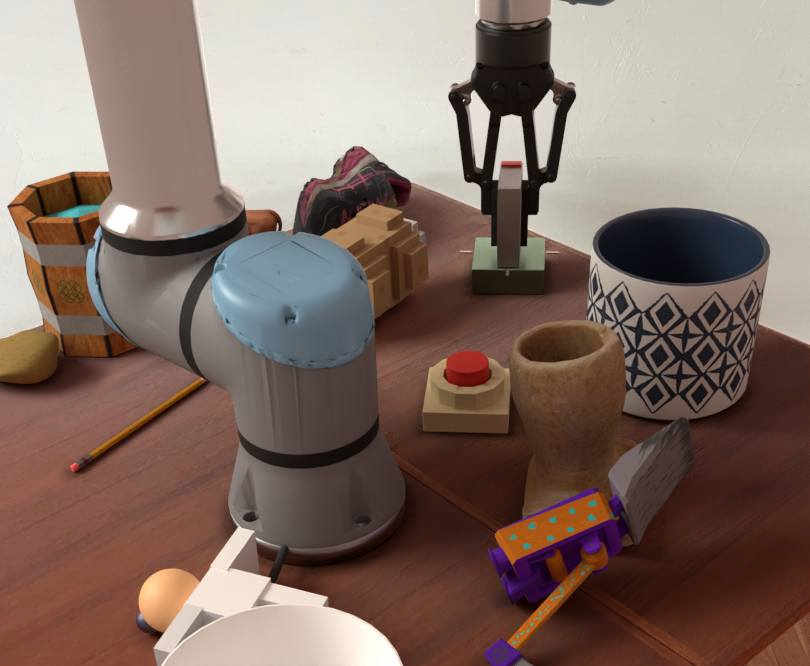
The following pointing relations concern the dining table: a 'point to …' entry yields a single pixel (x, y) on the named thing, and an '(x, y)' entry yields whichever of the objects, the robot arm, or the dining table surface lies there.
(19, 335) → the potato
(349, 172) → the athletic shoe
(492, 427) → the button box
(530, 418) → the stone cup
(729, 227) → the planter
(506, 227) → the tap handle
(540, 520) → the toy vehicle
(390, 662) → the bowl
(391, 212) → the roast turkey
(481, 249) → the tap panel
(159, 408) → the pencil
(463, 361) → the red button
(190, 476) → the dining table surface
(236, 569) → the figurine
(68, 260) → the mug
